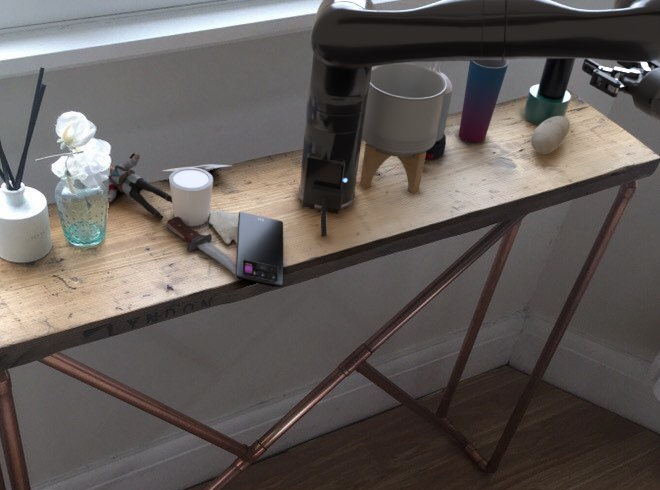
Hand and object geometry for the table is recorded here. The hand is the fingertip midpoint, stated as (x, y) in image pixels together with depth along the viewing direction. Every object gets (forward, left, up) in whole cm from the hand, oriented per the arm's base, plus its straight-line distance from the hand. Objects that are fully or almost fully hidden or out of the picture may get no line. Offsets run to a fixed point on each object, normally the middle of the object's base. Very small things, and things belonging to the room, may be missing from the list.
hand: (601, 59), depth 159 cm
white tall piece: (-15, +28, -16) cm, 35 cm away
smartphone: (-58, +46, -14) cm, 75 cm away
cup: (-7, +19, -16) cm, 26 cm away
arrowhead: (-55, +48, -15) cm, 75 cm away
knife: (-57, +53, -15) cm, 79 cm away
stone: (-5, +5, -16) cm, 18 cm away
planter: (-27, +31, -16) cm, 44 cm away
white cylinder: (-52, +59, -16) cm, 80 cm away
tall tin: (+7, +7, -11) cm, 14 cm away
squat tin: (+7, +7, -16) cm, 18 cm away
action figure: (-54, +63, -13) cm, 84 cm away
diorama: (-39, +63, -14) cm, 75 cm away
